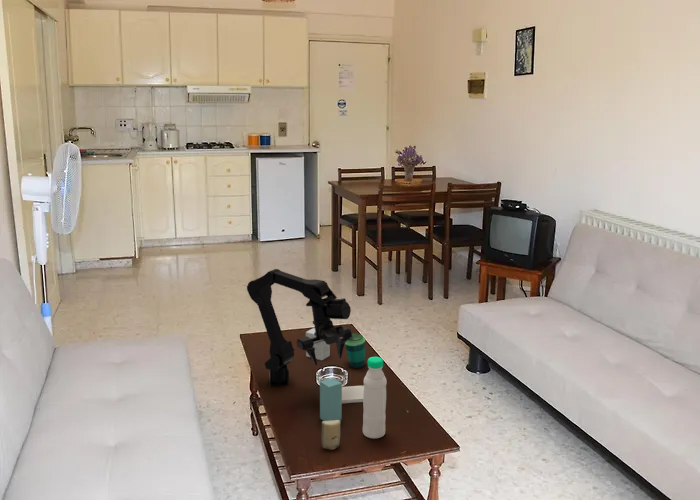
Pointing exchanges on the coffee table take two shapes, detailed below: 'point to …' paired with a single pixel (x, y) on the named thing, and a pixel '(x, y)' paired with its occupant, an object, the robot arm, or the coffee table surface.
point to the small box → (319, 347)
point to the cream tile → (352, 394)
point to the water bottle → (374, 399)
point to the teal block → (330, 400)
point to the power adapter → (330, 434)
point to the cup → (356, 350)
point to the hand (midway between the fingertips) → (328, 361)
